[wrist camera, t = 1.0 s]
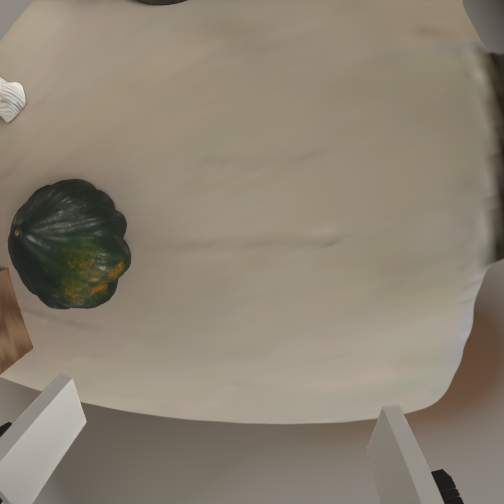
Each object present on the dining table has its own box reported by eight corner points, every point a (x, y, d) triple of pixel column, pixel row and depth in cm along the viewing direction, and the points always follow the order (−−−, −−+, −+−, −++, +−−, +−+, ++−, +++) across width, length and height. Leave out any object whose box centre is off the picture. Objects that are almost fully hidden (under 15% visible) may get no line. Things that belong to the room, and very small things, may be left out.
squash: (86, 343, 34) (55, 323, 21) (12, 269, 33) (-34, 217, 20) (151, 261, 41) (159, 204, 28) (77, 199, 40) (62, 128, 28)
